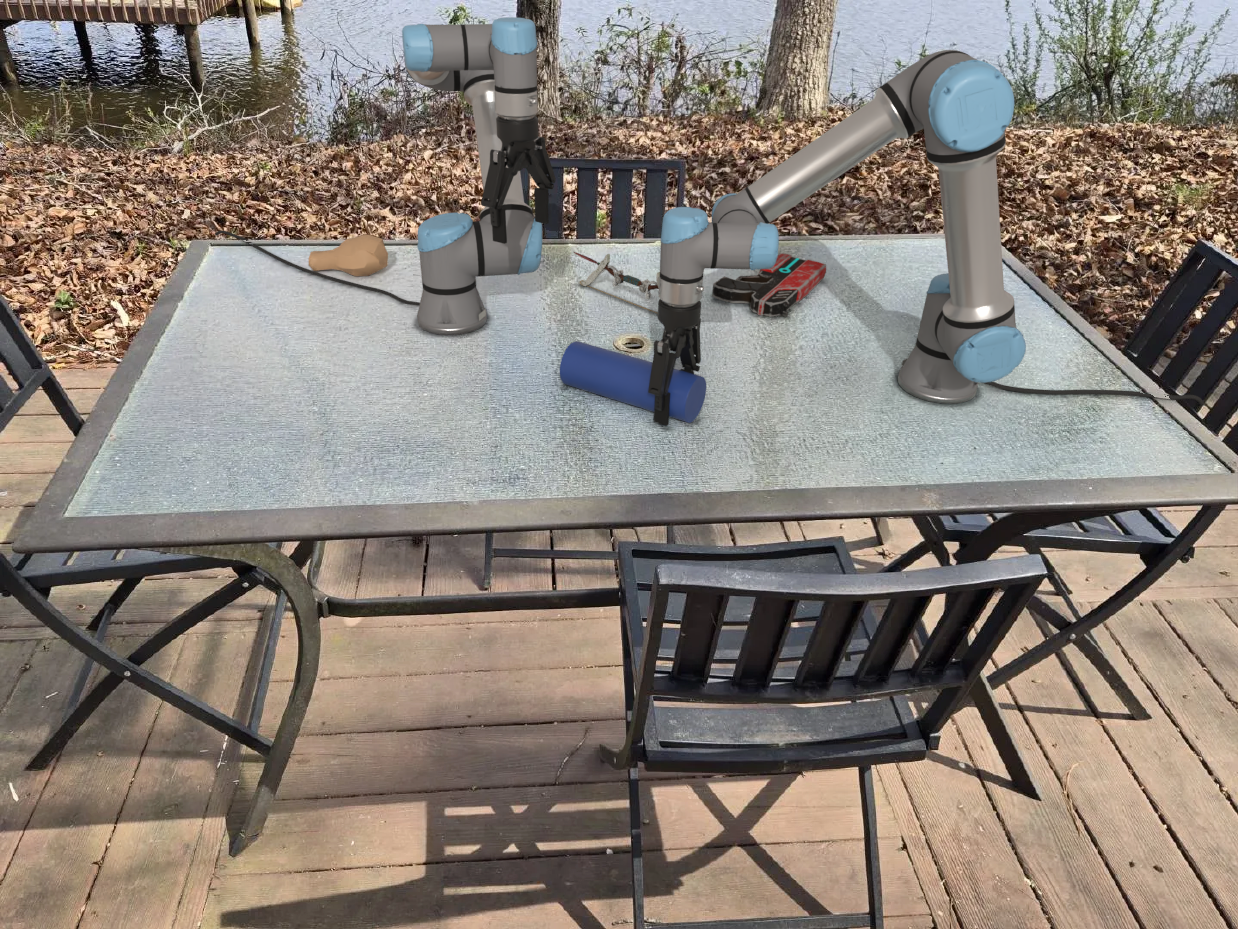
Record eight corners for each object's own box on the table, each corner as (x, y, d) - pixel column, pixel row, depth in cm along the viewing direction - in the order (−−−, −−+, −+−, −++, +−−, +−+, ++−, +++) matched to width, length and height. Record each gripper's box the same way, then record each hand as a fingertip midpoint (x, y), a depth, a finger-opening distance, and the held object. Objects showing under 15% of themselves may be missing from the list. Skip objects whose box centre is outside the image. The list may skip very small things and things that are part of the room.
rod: (560, 391, 171) (559, 351, 166) (584, 374, 178) (584, 334, 173) (683, 430, 160) (686, 388, 155) (704, 410, 166) (708, 368, 161)
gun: (708, 284, 207) (784, 305, 199) (760, 245, 229) (831, 262, 221) (706, 302, 209) (781, 323, 201) (758, 261, 231) (828, 278, 223)
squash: (388, 280, 216) (377, 247, 210) (309, 287, 218) (296, 255, 212) (396, 257, 224) (386, 225, 218) (320, 264, 226) (308, 233, 219)
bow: (697, 327, 197) (701, 285, 192) (692, 329, 196) (696, 287, 191) (576, 279, 219) (576, 241, 213) (571, 281, 218) (571, 242, 212)
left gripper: (490, 131, 146) (497, 254, 158) (573, 106, 164) (573, 218, 176) (455, 125, 149) (464, 246, 161) (540, 100, 167) (542, 211, 179)
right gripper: (669, 326, 143) (663, 443, 155) (725, 284, 158) (716, 393, 171) (630, 316, 146) (627, 431, 159) (688, 275, 162) (681, 383, 174)
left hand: (521, 231), depth 168 cm, fingers open, 13 cm apart
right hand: (673, 411), depth 165 cm, fingers closed on rod, 9 cm apart
